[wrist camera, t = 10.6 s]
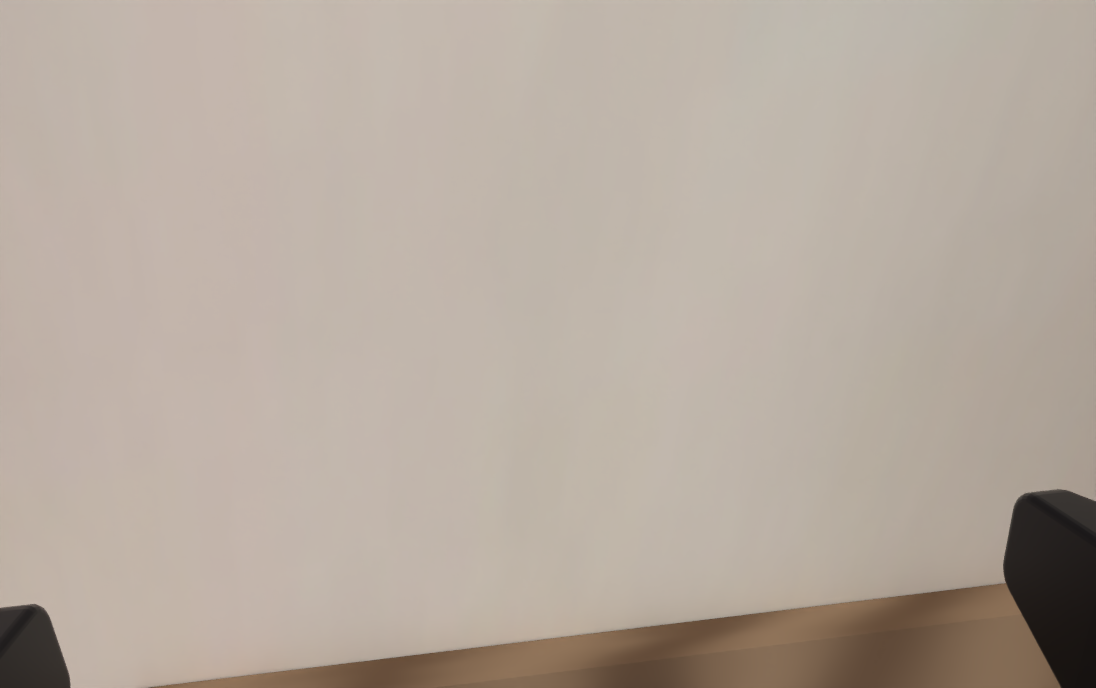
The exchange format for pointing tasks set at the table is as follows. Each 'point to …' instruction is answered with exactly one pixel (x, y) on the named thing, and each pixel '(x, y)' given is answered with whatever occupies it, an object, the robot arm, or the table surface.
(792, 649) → the jack panel
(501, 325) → the table surface
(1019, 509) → the robot arm
